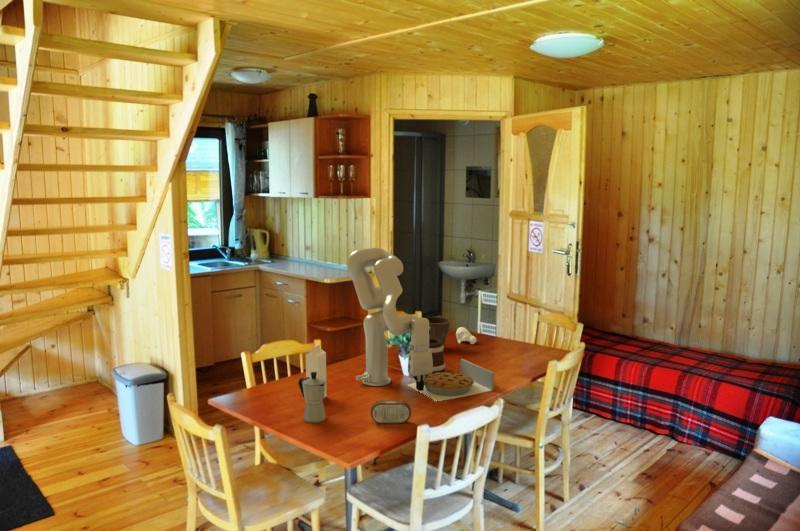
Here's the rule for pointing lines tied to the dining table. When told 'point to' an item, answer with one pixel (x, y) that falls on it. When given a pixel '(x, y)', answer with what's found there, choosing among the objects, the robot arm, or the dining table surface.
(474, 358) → the dining table surface
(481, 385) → the grey l-shaped tray
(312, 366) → the milk
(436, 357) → the mug
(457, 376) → the pie
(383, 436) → the dining table surface
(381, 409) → the tin
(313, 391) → the coffee maker
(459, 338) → the cream rounded lump
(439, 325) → the plant pot
